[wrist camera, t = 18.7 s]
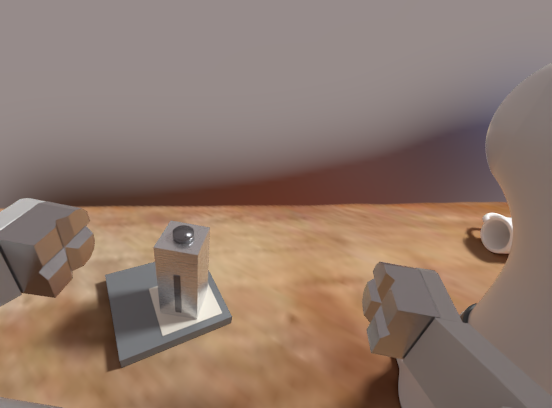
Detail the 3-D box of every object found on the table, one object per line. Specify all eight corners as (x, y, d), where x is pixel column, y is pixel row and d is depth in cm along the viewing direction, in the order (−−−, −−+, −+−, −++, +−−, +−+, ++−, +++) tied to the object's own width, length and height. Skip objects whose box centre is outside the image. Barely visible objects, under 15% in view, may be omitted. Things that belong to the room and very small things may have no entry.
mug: (536, 262, 65) (561, 235, 61) (497, 260, 64) (520, 232, 59) (497, 227, 75) (516, 202, 71) (463, 225, 73) (480, 199, 69)
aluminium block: (207, 289, 44) (210, 222, 37) (196, 319, 39) (197, 250, 32) (174, 283, 44) (170, 215, 37) (160, 313, 39) (152, 242, 32)
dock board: (198, 256, 51) (198, 250, 50) (231, 322, 42) (232, 316, 41) (106, 281, 44) (105, 274, 43) (121, 367, 35) (119, 360, 34)
